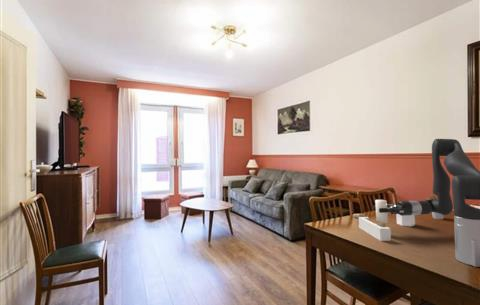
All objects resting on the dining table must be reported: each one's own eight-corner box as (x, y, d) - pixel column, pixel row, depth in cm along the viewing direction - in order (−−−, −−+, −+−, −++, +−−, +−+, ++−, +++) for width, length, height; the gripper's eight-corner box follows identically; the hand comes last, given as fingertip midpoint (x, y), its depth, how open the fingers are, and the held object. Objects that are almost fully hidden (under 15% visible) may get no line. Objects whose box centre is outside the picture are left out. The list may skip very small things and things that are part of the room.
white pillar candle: (389, 222, 126) (388, 201, 126) (379, 222, 126) (378, 201, 126) (383, 219, 131) (383, 199, 131) (374, 220, 131) (373, 199, 131)
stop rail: (390, 240, 118) (390, 228, 118) (380, 240, 118) (380, 228, 118) (367, 227, 140) (367, 216, 140) (358, 227, 140) (358, 217, 140)
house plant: (450, 216, 159) (449, 191, 159) (458, 221, 146) (457, 194, 146) (423, 214, 165) (422, 190, 165) (429, 219, 152) (428, 193, 152)
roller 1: (363, 215, 163) (364, 218, 161) (352, 215, 164) (354, 218, 162) (364, 213, 162) (365, 216, 160) (353, 213, 162) (355, 216, 160)
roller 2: (385, 228, 138) (385, 224, 137) (373, 229, 138) (373, 224, 137) (382, 226, 140) (383, 222, 140) (370, 227, 140) (370, 222, 140)
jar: (410, 227, 138) (409, 206, 138) (394, 224, 145) (393, 204, 145) (416, 224, 143) (416, 204, 143) (401, 221, 150) (400, 202, 150)
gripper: (399, 198, 135) (368, 199, 136) (418, 203, 121) (383, 205, 121) (400, 211, 135) (369, 212, 136) (418, 218, 121) (384, 220, 121)
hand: (376, 209), depth 128 cm, fingers closed on white pillar candle, 5 cm apart
